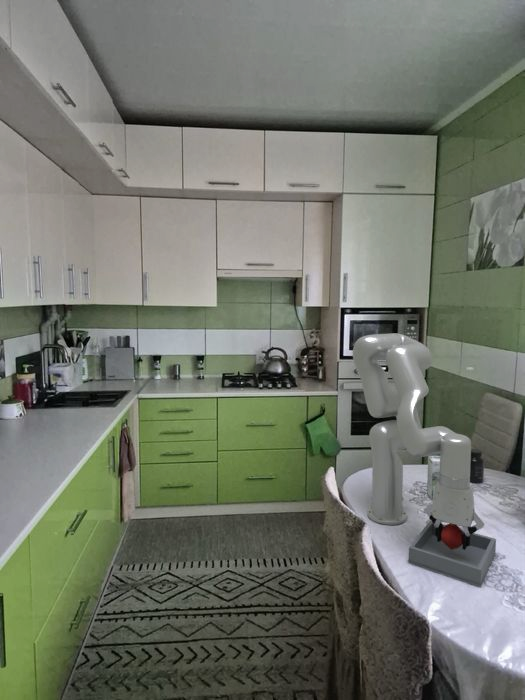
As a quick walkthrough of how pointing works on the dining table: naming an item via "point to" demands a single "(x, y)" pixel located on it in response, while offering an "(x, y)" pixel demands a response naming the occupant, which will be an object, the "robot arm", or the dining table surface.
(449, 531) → the onion
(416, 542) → the tray
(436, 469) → the syrup box
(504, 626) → the dining table surface
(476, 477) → the supplement bottle
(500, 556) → the dining table surface
